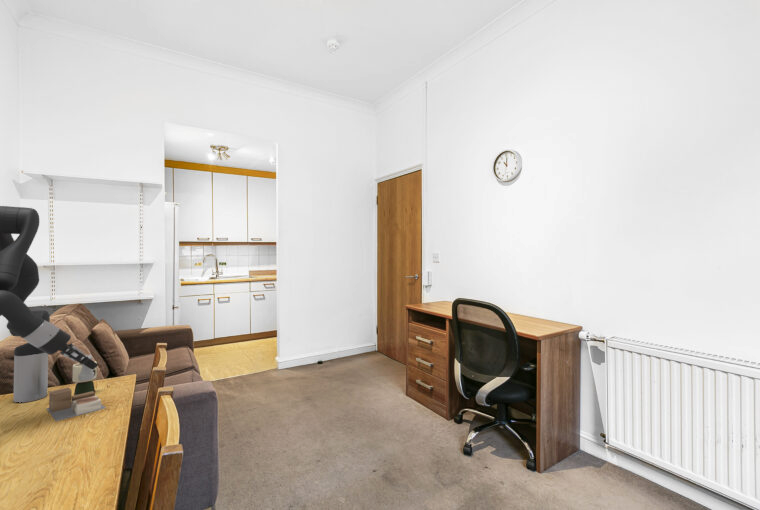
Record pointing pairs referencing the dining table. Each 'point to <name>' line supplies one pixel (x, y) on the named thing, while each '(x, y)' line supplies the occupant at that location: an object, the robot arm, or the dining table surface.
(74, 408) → the white square block
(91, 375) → the rook chess piece
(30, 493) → the dining table surface
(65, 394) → the walnut castle blocks
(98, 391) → the dining table surface
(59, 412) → the baseplate
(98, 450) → the dining table surface
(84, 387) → the character mug
